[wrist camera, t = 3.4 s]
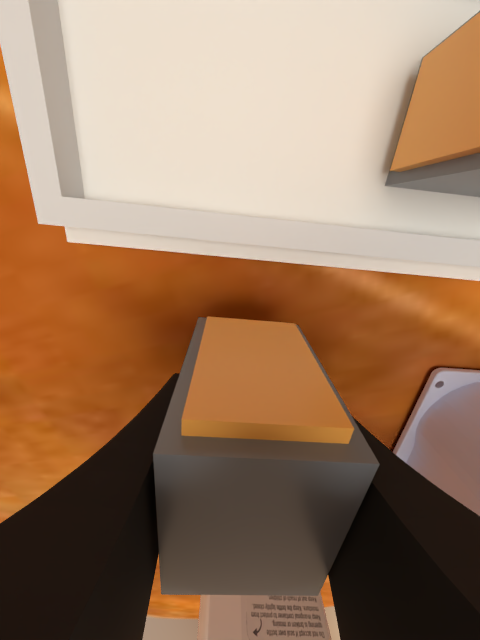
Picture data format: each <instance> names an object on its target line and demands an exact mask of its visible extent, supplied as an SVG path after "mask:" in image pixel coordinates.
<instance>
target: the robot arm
mask: <svg viewBox="0 0 480 640" xmlns="http://www.w3.org/2000/svg"><path fill="white" fill-rule="evenodd" d="M179 375H180V374H177V373H175V374H174V375H173V376H172V377H171V378H170V379H169V380H168V381H167V383H166V384H165V385H164V386H163V387H162V389H161V390H160V391H159V392H158V393H157V394H156V395H155V397H154V398H153V399H152V400H151V401H150V402H149V403H148V404H147V405H146V406H145V407H144V408H143V409H142V410H141V411H140V412H139V413H138V415H137V416H136V417H135V418H133V419H132V420H131V421H130V422H129V423H128V424H127V425H126V426H125V427H124V428H123V429H122V430H121V431H120V432H119V433H118V434H117V435H116V436H115V437H113V438H112V439H111V440H110V441H109V442H108V443H107V444H106V445H104V446H103V447H102V448H101V449H100V450H99V451H97V452H96V453H95V454H94V455H93V456H91V457H90V458H89V459H88V460H87V461H85V462H84V463H83V464H82V465H80V466H79V467H78V468H77V469H75V470H74V471H73V472H71V473H70V474H69V475H67V476H66V477H65V478H64V479H62V480H61V481H60V482H58V483H57V484H56V485H54V486H53V487H52V488H50V489H49V490H48V491H46V492H45V493H44V494H42V495H41V496H40V497H38V498H37V499H35V500H34V501H33V502H31V503H30V504H28V505H27V506H25V507H24V508H22V509H21V510H19V511H18V512H16V513H15V514H14V515H12V516H11V517H9V518H8V519H6V520H5V521H3V522H2V523H0V640H142V638H143V632H144V627H145V622H146V616H147V611H148V606H149V601H150V595H151V590H152V585H153V580H154V574H155V569H156V564H157V559H158V554H159V546H158V529H157V512H156V496H155V479H154V462H153V453H154V450H155V447H156V444H157V441H158V438H159V435H160V432H161V429H162V426H163V423H164V420H165V417H166V414H167V411H168V408H169V405H170V402H171V399H172V396H173V393H174V390H175V387H176V384H177V381H178V378H179ZM352 418H353V417H352ZM353 419H354V418H353ZM354 421H355V423H356V424H357V426H358V428H359V430H360V431H361V433H362V435H363V436H364V438H365V440H366V442H367V443H368V445H369V447H370V448H371V450H372V452H373V453H374V455H375V457H376V459H377V460H378V462H379V464H380V465H379V467H378V469H377V471H376V473H375V475H374V477H373V480H372V482H371V484H370V486H369V488H368V490H367V492H366V494H365V497H364V499H363V501H362V503H361V505H360V507H359V509H358V511H357V514H356V516H355V518H354V520H353V522H352V524H351V526H350V529H349V531H348V533H347V535H346V537H345V539H344V541H343V543H342V546H341V548H340V550H339V552H338V554H337V556H336V558H335V560H334V563H333V565H332V567H331V569H330V571H329V573H328V575H329V581H330V586H331V591H332V596H333V601H334V607H335V612H336V616H337V622H338V628H339V633H340V639H341V640H480V370H469V369H454V368H437V369H435V370H434V371H433V372H432V373H431V375H430V377H429V379H428V381H427V383H426V385H425V387H424V389H423V391H422V393H421V395H420V397H419V399H418V401H417V403H416V405H415V407H414V410H413V412H412V414H411V416H410V418H409V420H408V422H407V424H406V426H405V428H404V430H403V432H402V434H401V436H400V438H399V440H398V442H397V444H396V446H395V448H394V450H393V452H392V451H391V450H389V449H388V448H387V447H386V446H385V445H384V444H382V443H381V442H380V441H379V440H378V439H377V438H375V437H374V436H373V435H372V434H371V433H370V432H369V431H367V430H366V429H365V428H364V427H363V426H362V425H361V424H360V423H359V422H358V421H357V420H355V419H354Z"/></svg>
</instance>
